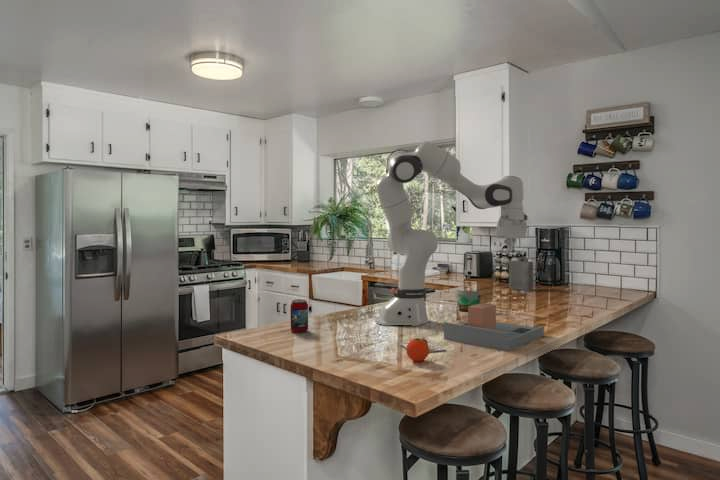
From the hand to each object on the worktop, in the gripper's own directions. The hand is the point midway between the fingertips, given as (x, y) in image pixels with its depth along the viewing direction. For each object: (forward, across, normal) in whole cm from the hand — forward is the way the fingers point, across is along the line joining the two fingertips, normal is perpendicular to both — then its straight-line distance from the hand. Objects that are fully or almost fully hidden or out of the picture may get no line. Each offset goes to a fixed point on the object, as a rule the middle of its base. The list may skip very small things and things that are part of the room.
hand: (510, 249), depth 201 cm
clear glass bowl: (+33, -56, +4) cm, 65 cm away
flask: (+28, +92, +38) cm, 104 cm away
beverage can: (+33, -68, +53) cm, 92 cm away
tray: (+31, -26, -7) cm, 41 cm away
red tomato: (+33, -68, -4) cm, 76 cm away
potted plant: (+30, +11, +26) cm, 42 cm away
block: (+29, -33, -6) cm, 44 cm away
